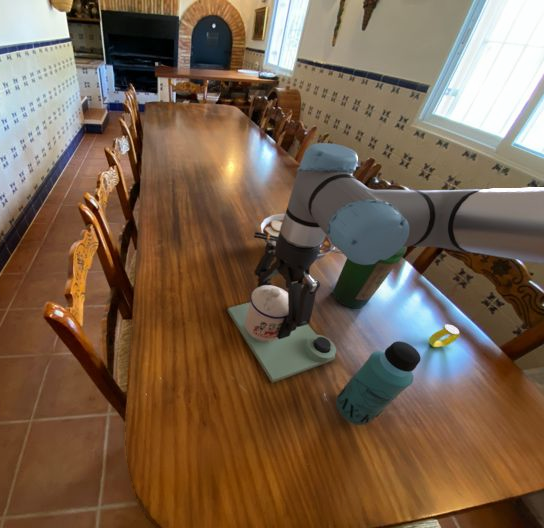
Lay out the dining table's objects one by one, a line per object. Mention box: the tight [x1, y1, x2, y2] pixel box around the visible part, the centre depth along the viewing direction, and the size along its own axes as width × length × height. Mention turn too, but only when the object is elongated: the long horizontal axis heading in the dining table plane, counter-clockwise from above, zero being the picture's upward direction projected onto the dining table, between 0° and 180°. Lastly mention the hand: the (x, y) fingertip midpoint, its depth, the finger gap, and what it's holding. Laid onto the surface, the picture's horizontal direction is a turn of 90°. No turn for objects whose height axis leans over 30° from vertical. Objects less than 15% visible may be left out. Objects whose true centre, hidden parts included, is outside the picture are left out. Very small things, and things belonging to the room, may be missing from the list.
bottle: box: [332, 247, 408, 309], centre depth 71 cm, size 11×11×28 cm
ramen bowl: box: [253, 213, 344, 261], centre depth 92 cm, size 25×23×8 cm
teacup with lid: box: [245, 284, 289, 342], centre depth 64 cm, size 12×9×12 cm
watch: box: [428, 323, 461, 349], centre depth 68 cm, size 6×3×6 cm, turn 100°
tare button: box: [314, 336, 331, 353], centre depth 63 cm, size 3×3×2 cm
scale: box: [227, 301, 337, 384], centre depth 68 cm, size 20×16×3 cm
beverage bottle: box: [335, 341, 421, 426], centre depth 50 cm, size 6×7×20 cm
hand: (270, 319), depth 67 cm, fingers closed on teacup with lid, 9 cm apart
